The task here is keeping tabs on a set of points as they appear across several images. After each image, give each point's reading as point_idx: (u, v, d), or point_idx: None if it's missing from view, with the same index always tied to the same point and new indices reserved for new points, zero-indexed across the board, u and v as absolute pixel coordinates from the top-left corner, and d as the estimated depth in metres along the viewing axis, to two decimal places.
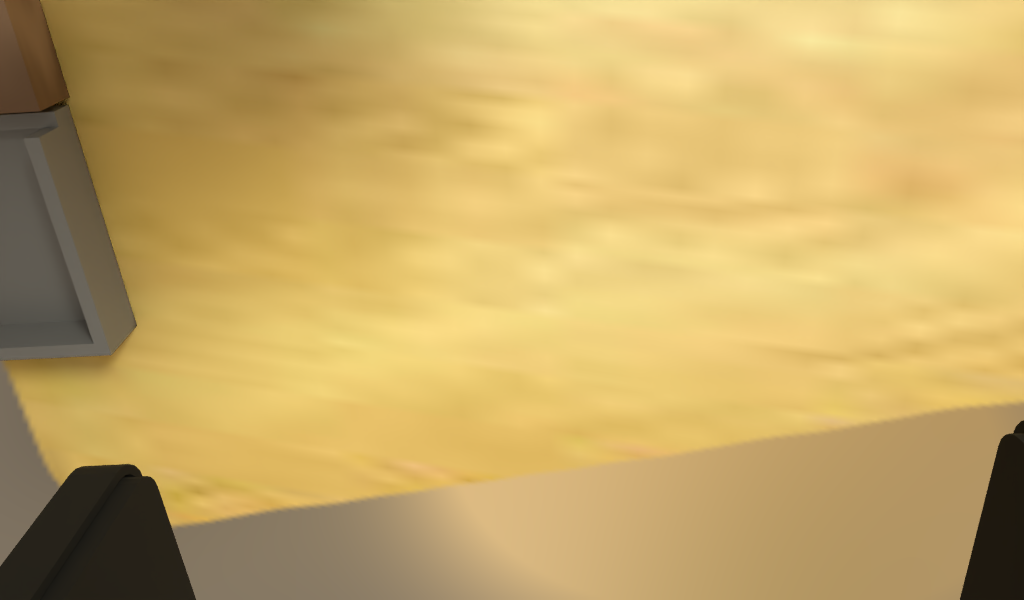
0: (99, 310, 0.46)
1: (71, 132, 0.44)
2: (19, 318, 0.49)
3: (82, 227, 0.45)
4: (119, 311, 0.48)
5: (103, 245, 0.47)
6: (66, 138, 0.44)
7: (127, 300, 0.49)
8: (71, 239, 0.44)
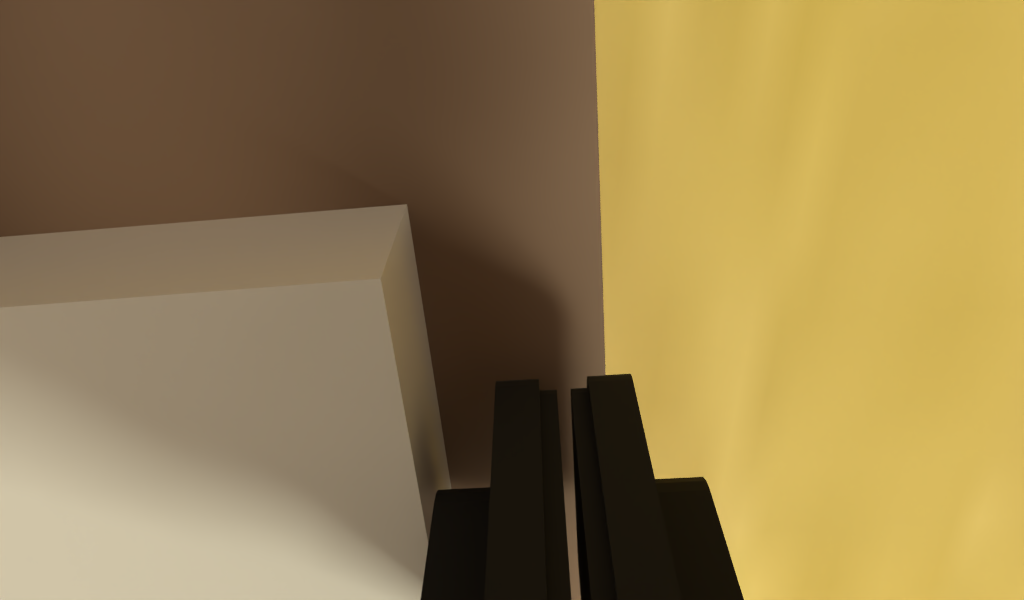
0: None
1: None
2: None
3: None
4: None
5: None
6: None
7: None
8: None
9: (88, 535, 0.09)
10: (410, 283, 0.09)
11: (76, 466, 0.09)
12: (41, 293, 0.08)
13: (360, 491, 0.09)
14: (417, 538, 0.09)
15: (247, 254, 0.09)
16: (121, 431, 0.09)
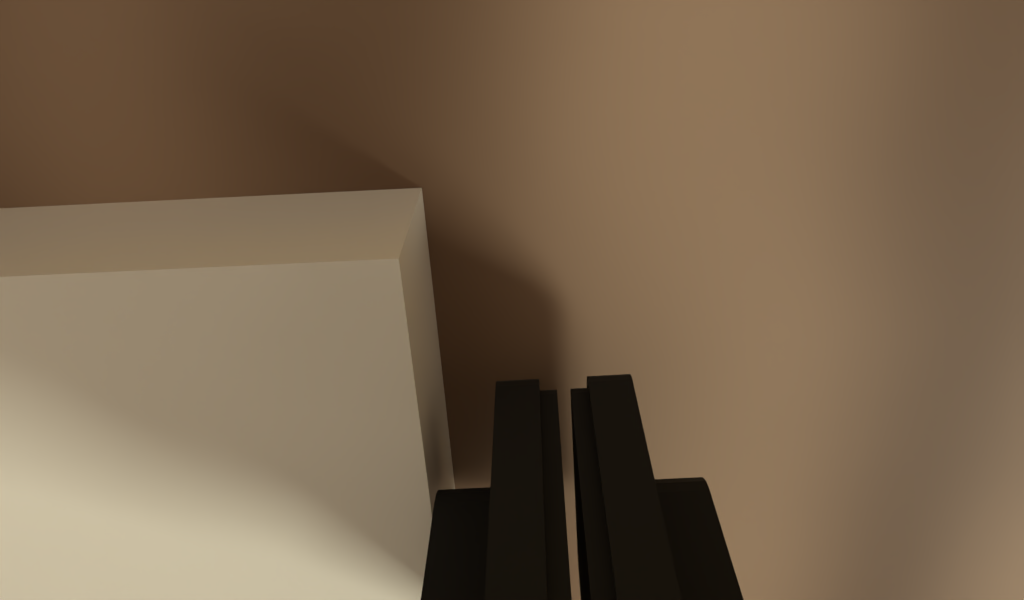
0: None
1: None
2: None
3: None
4: None
5: None
6: None
7: None
8: None
9: (91, 509, 0.09)
10: (423, 267, 0.09)
11: (80, 440, 0.09)
12: (53, 263, 0.08)
13: (367, 473, 0.09)
14: (422, 522, 0.09)
15: (261, 231, 0.09)
16: (129, 406, 0.09)
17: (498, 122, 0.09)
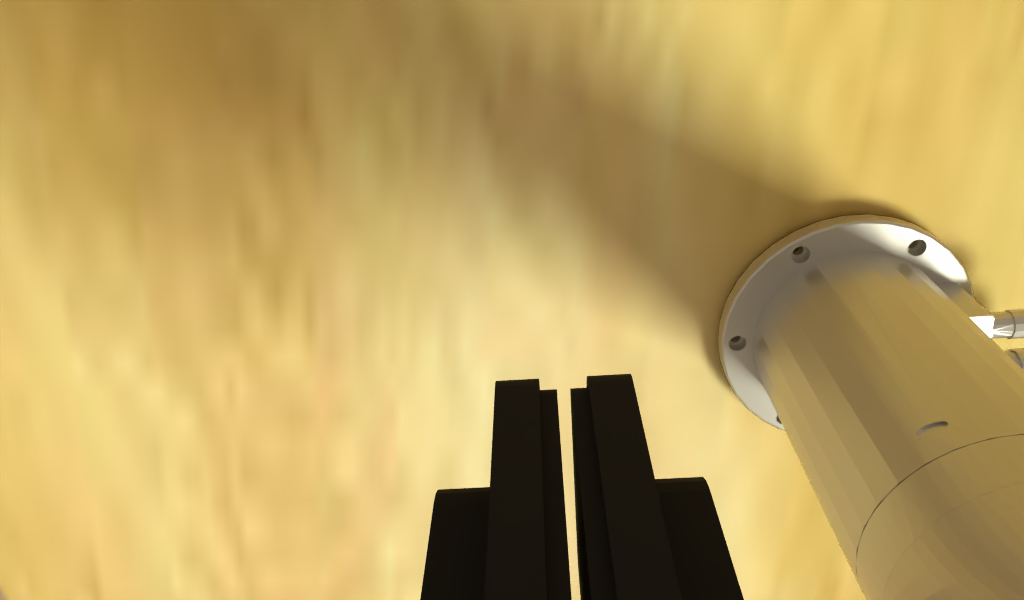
0: None
1: None
2: None
3: None
4: None
5: None
6: None
7: None
8: None
9: None
10: None
11: None
12: None
13: None
14: None
15: None
16: None
17: None
